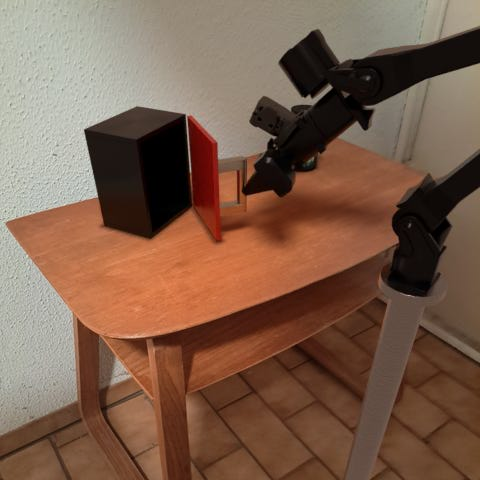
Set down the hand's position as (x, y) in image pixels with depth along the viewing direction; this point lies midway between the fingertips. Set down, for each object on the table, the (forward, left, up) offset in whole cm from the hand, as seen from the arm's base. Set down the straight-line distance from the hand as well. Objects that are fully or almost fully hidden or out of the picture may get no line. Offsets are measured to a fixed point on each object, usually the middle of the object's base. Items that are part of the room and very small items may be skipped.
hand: (246, 188), depth 77 cm
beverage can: (+7, -29, -7) cm, 31 cm away
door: (+5, 0, -7) cm, 9 cm away
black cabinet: (+17, +7, -7) cm, 20 cm away
